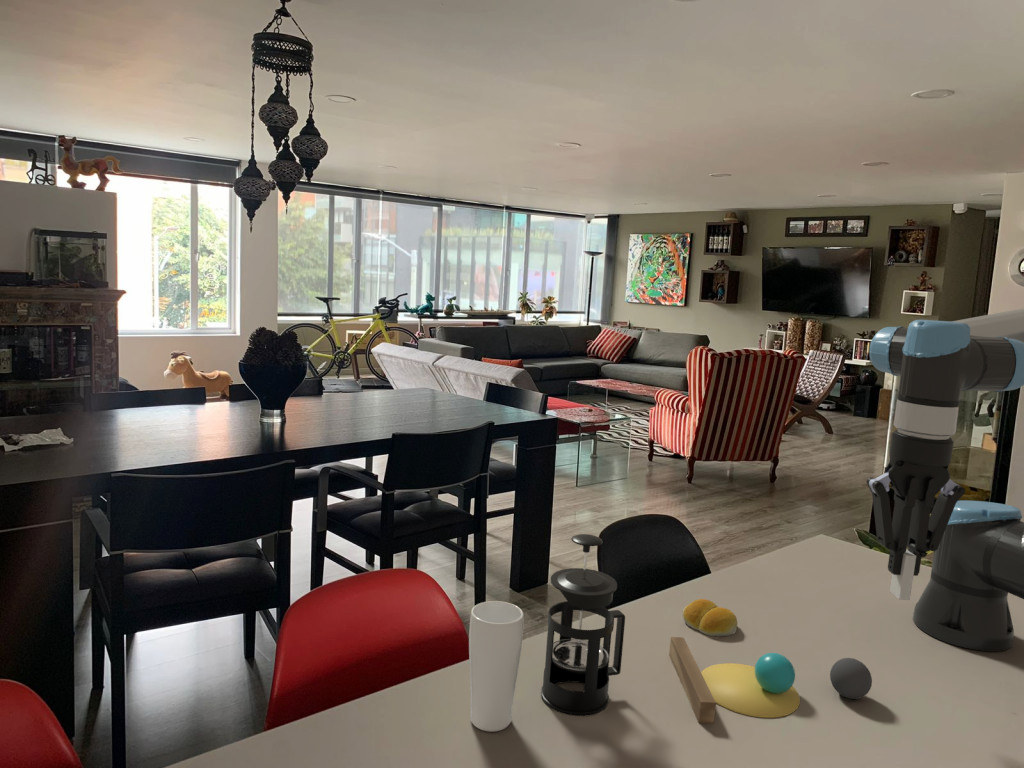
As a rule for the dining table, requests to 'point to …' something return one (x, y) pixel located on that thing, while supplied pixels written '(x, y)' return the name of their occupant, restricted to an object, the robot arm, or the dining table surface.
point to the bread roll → (710, 618)
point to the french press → (582, 639)
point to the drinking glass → (494, 662)
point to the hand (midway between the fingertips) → (899, 595)
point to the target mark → (747, 692)
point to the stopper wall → (692, 681)
